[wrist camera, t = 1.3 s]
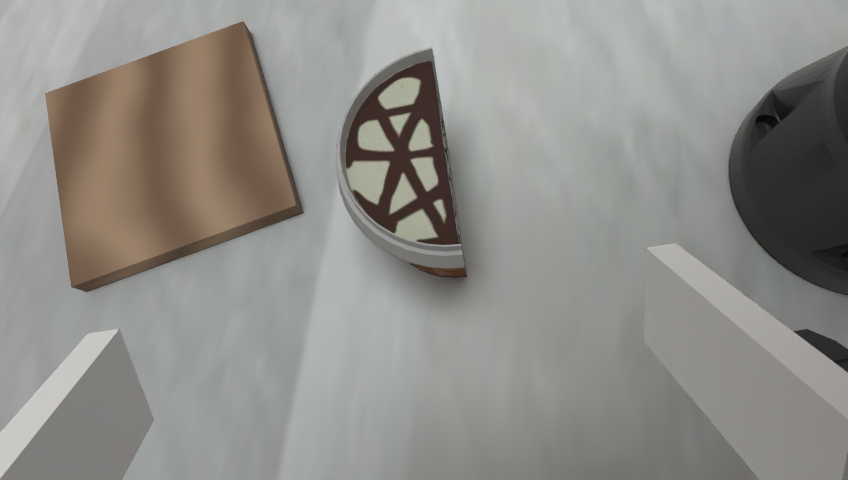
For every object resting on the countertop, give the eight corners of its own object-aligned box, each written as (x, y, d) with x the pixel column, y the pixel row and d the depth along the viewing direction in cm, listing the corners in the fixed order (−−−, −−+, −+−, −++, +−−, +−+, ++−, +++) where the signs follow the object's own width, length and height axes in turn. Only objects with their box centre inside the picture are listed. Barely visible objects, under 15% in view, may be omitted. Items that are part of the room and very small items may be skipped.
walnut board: (251, 33, 45) (243, 21, 43) (303, 212, 39) (296, 205, 38) (59, 103, 45) (45, 93, 43) (86, 291, 40) (71, 286, 38)
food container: (359, 142, 41) (319, 58, 31) (445, 128, 40) (430, 38, 31) (375, 312, 37) (335, 274, 27) (470, 299, 36) (462, 256, 27)
